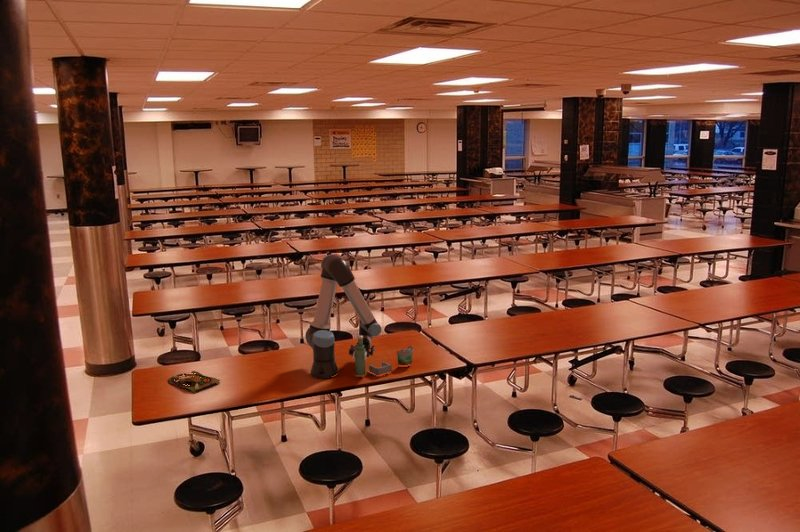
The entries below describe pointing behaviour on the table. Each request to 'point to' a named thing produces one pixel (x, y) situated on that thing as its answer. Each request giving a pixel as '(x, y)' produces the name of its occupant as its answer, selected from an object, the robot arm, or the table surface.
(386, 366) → the bottle rest
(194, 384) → the prepared meal
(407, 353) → the food container
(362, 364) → the bottle
